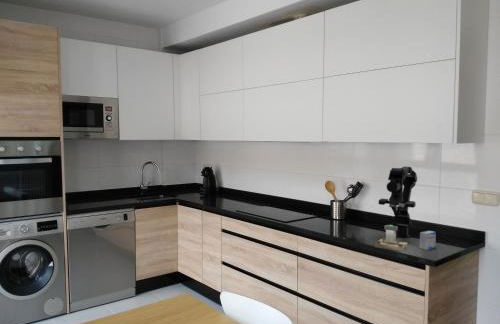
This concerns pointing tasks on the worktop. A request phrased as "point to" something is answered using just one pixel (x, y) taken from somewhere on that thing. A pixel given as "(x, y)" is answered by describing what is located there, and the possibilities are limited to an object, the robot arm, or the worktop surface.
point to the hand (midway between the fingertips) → (396, 218)
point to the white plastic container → (390, 233)
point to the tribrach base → (391, 244)
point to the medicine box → (427, 240)
